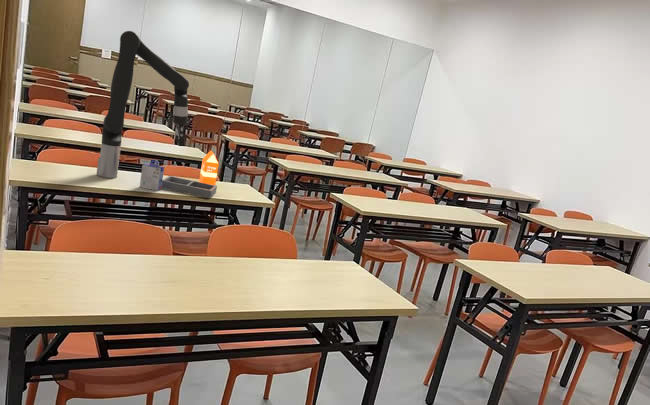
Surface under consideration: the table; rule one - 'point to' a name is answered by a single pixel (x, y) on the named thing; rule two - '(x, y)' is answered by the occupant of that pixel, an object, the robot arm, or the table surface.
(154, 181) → the ink cartridge box
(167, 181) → the grey divided tray
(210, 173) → the orange juice
